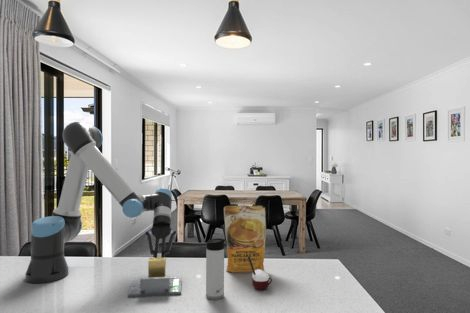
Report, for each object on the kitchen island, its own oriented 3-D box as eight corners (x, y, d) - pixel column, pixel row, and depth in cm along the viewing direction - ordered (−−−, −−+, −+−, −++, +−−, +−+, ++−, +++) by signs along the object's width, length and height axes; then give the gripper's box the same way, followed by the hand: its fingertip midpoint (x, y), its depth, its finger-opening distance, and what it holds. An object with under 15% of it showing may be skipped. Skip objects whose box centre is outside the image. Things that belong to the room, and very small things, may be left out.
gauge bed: (128, 297, 110) (128, 279, 110) (134, 283, 123) (134, 267, 123) (180, 294, 113) (181, 277, 113) (181, 280, 125) (181, 265, 126)
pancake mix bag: (222, 268, 141) (223, 204, 141) (265, 267, 143) (265, 204, 143) (223, 273, 134) (223, 206, 135) (268, 272, 136) (268, 206, 136)
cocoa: (271, 286, 121) (272, 254, 122) (272, 292, 115) (273, 259, 116) (246, 284, 122) (248, 252, 123) (245, 290, 116) (247, 257, 117)
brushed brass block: (148, 285, 117) (148, 261, 117) (149, 281, 121) (149, 258, 121) (177, 284, 119) (177, 260, 119) (177, 280, 123) (177, 256, 123)
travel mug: (222, 300, 108) (222, 241, 108) (203, 299, 109) (204, 240, 109) (226, 293, 114) (226, 237, 114) (208, 291, 115) (209, 236, 115)
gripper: (177, 223, 143) (175, 273, 127) (147, 224, 141) (141, 275, 125) (177, 213, 138) (175, 264, 121) (146, 214, 136) (140, 266, 119)
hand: (158, 270), depth 123 cm, fingers closed
